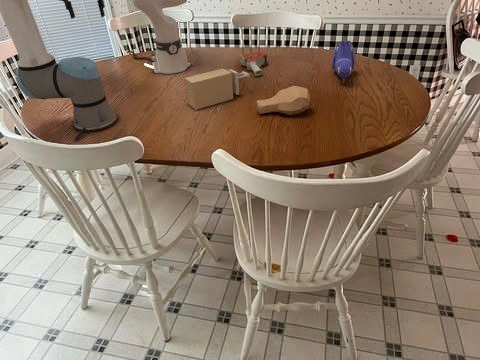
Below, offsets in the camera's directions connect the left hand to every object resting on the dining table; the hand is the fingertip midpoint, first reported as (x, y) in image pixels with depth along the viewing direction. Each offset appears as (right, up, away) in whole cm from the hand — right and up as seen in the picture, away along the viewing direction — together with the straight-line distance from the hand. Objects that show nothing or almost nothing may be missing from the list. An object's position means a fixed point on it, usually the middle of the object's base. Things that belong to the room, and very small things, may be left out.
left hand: (88, 17), depth 156 cm
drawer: (+61, -37, -11) cm, 72 cm away
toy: (+112, -27, 0) cm, 115 cm away
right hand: (+47, +5, -28) cm, 55 cm away
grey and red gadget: (+74, -18, +16) cm, 77 cm away
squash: (+83, -47, -24) cm, 98 cm away
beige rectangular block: (+55, -40, -13) cm, 69 cm away
